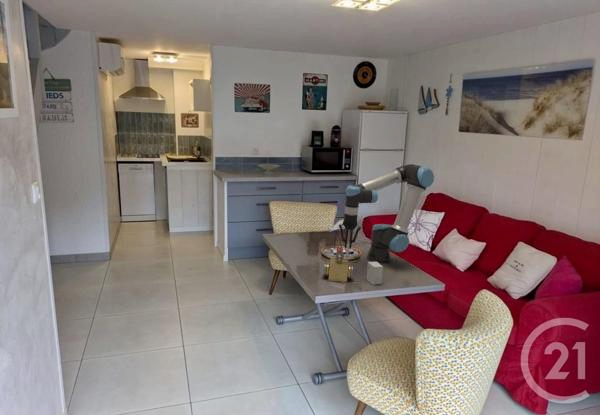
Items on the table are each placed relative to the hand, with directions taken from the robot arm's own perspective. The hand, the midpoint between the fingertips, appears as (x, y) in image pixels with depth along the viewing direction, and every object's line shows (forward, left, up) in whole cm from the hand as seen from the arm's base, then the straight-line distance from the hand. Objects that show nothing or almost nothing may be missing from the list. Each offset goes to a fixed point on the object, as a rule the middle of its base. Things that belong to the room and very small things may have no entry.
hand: (347, 253), depth 240 cm
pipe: (+4, +11, -12) cm, 16 cm away
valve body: (+4, +11, -12) cm, 16 cm away
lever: (+4, +5, 0) cm, 6 cm away
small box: (-16, +11, -12) cm, 22 cm away
